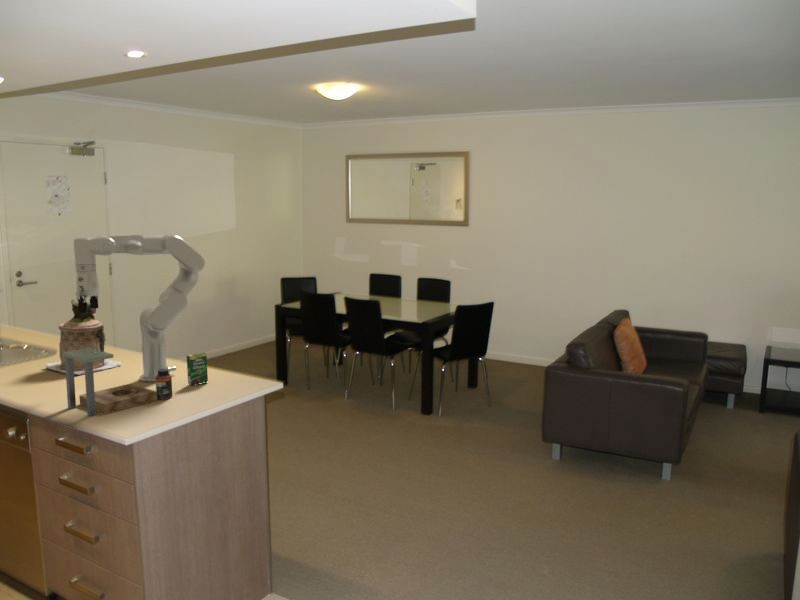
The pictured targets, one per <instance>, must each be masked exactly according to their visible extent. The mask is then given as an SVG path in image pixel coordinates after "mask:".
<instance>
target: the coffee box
mask: <svg viewBox="0 0 800 600" xmlns="http://www.w3.org/2000/svg"><path fill="white" fill-rule="evenodd" d="M207 356H208V355H207V353H205V352H199V353H195V354H188V355H186V364H187V366H186V367H187V368H186V371H187V385H188V384H189V385H188V386H190V385H195V384H199V383H203V382H207V381H208V382H209V377H208V359H207V358H208V357H207ZM199 385H200V384H199ZM195 386H196V385H195Z"/></svg>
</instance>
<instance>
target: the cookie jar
mask: <svg viewBox="0 0 800 600" xmlns="http://www.w3.org/2000/svg"><path fill="white" fill-rule="evenodd" d="M77 301H78V300H77V299H73V298H72V299H71V301H70V302H71V310H72V312H73V315H74V316H73V317H72V318H70V319H69V320H68V321H66V322H63V323H60V324H59V325H58V329H59V331H60V339H59V343H58V344H59V347H58V348H59V360H60V361H58V362H50V363H49V362H48V363H44V366H45V368H46V369H45V370H52V371H55V372H59V373H63V374H66V368H65V356H63V353H62V352H68V351H74V350H79V349H85V348H92V349H95V350H99V351H103V352H105V345H106V344H105V342H106V334H105V332H104V329H105V328H104V327H105V325H104V324H103V322H102V321H99V320H97V319H96V318H95V316H94V314H96V313H97V308H90V302H88V301H86V302H87V312H79V307H78V302H77ZM73 365H74V375H78V376H79V375H85V365H84V362H82V361H79V360H76V359H73ZM117 366H119V367H121V366H122V362H121V361H117V360H116V361H115V360H111V359H104V360H98V361H93V373H95V372H100V370H101V371H104V370H109V368H110V369H114V368H113V367H115V368H118V367H117Z"/></svg>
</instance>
